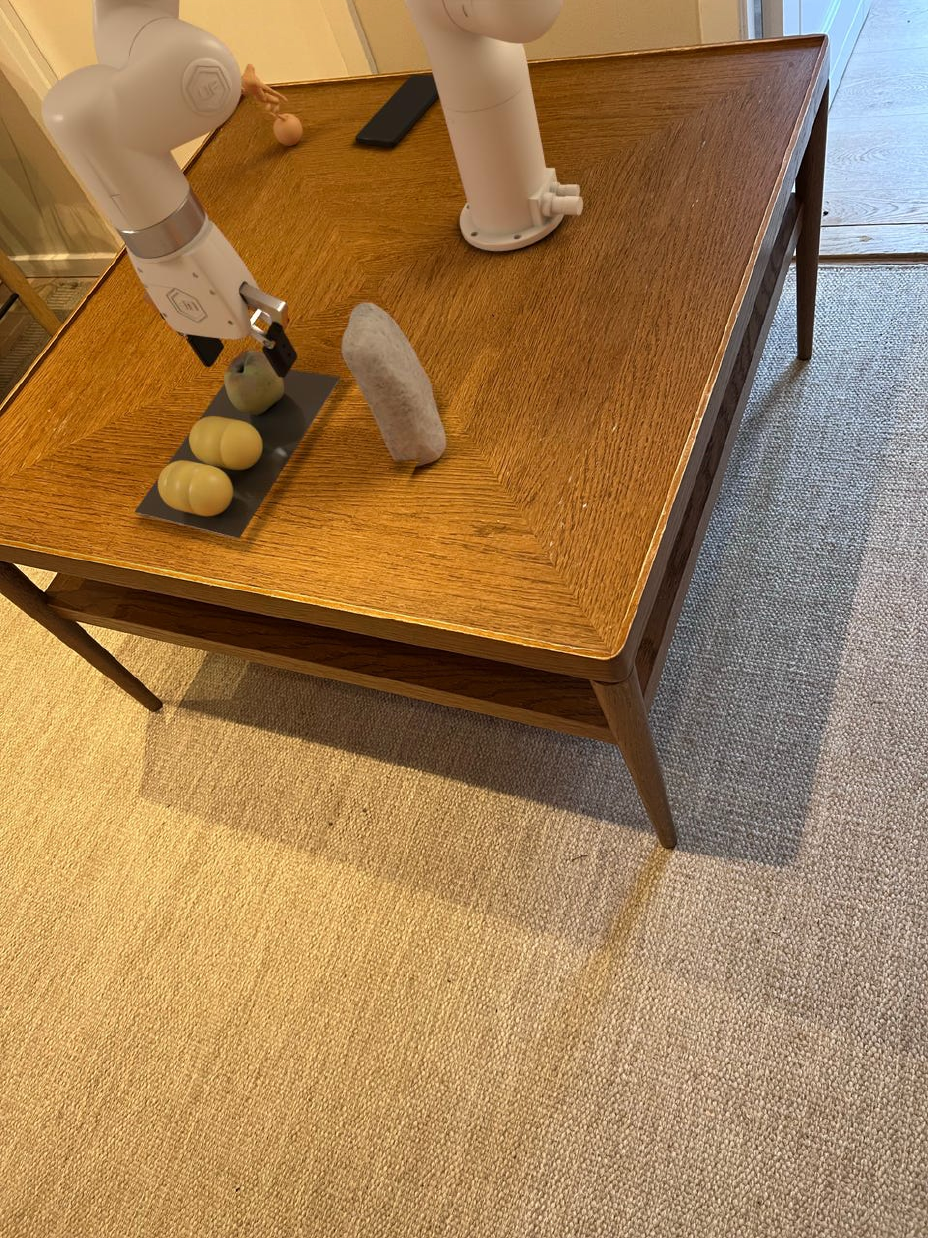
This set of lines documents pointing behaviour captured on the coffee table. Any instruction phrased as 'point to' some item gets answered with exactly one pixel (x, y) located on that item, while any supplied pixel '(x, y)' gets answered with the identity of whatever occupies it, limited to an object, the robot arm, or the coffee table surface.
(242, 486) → the serving board
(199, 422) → the yellow lobed bun
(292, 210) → the coffee table surface
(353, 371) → the decorative stone
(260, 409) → the apple
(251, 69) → the figurine
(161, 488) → the bread roll
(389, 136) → the smartphone
